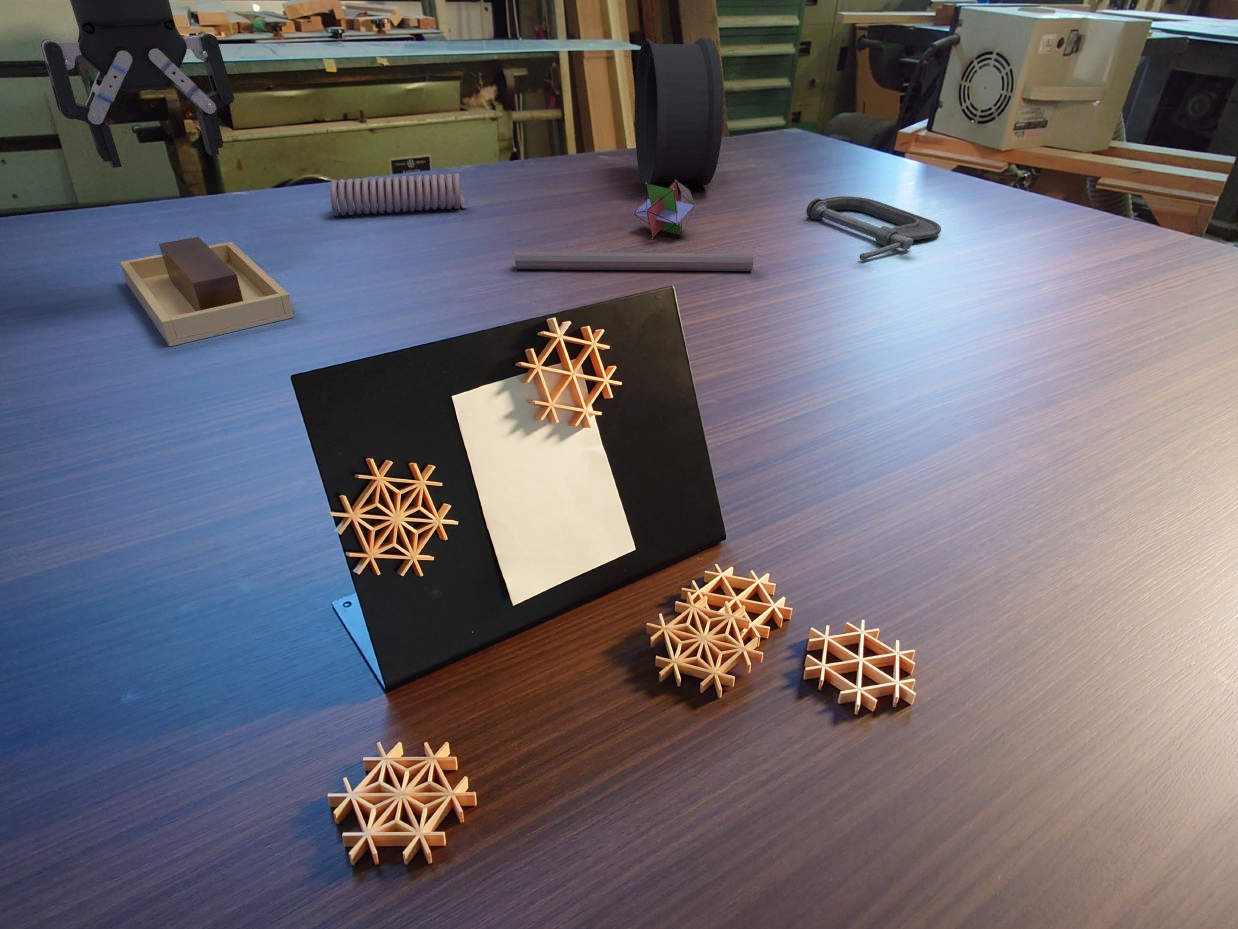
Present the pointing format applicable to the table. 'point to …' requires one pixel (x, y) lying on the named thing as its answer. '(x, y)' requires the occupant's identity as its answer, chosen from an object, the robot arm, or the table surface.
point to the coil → (396, 194)
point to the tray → (188, 325)
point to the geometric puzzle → (666, 207)
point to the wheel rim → (678, 111)
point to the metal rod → (634, 261)
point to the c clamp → (889, 237)
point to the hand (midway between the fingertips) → (165, 159)
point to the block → (200, 274)
